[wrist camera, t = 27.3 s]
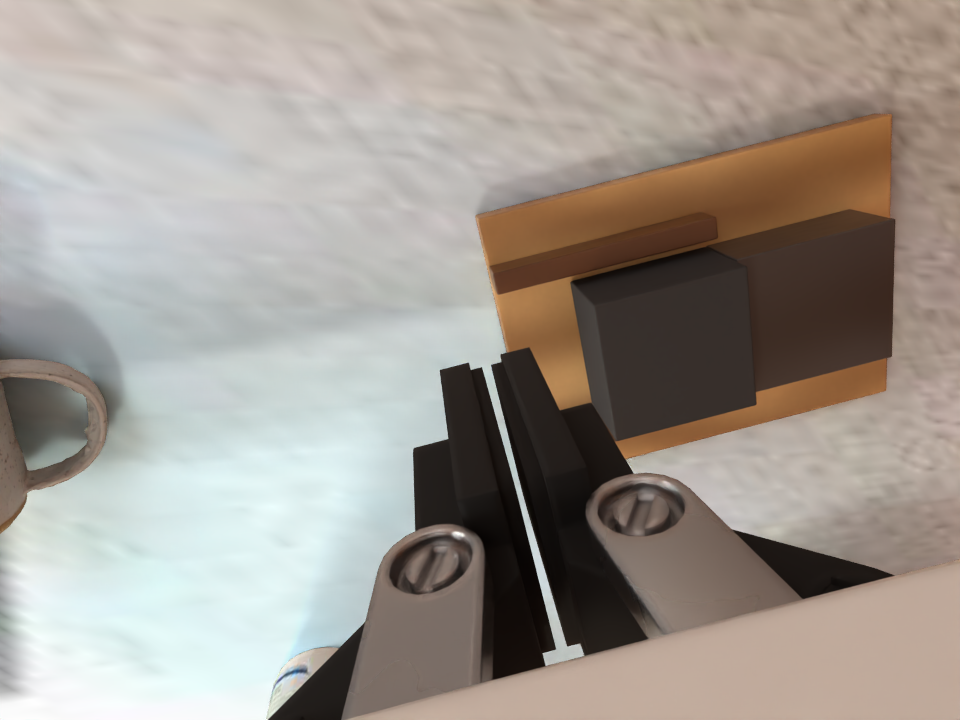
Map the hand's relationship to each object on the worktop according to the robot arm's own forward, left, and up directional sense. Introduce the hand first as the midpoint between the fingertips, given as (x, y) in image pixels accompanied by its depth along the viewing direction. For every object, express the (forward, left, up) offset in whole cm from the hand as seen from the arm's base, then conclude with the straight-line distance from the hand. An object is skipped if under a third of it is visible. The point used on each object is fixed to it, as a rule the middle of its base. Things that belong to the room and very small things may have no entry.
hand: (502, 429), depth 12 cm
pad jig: (+6, +11, -19) cm, 23 cm away
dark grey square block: (+6, +8, -18) cm, 21 cm away
